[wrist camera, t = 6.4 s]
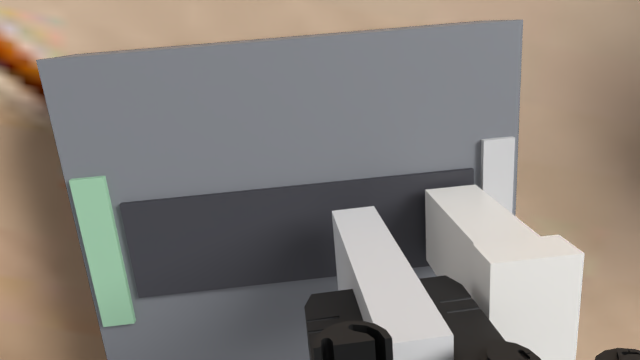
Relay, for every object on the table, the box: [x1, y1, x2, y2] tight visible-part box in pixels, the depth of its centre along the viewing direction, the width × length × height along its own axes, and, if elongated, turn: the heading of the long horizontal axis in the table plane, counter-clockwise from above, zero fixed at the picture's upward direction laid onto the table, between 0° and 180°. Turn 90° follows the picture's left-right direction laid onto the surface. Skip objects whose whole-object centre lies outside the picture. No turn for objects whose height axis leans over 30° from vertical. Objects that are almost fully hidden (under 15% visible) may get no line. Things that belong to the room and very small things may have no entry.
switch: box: [425, 185, 585, 360], centre depth 14 cm, size 3×2×6 cm
